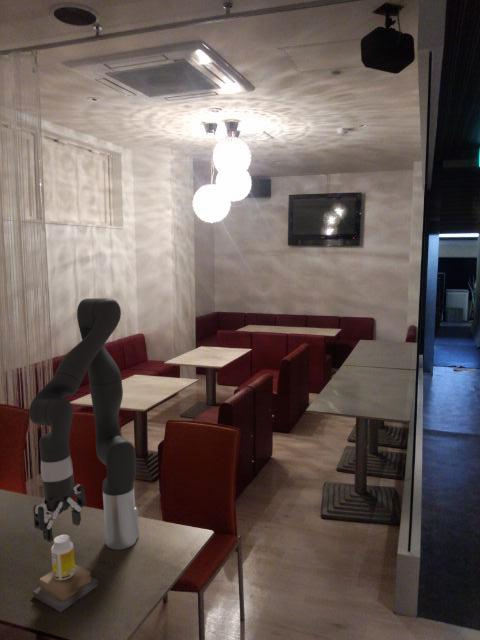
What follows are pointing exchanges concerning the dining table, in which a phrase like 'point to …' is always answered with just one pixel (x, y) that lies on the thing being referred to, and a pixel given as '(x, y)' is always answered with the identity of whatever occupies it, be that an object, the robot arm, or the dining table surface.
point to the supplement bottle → (63, 558)
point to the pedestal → (64, 589)
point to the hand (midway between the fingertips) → (63, 532)
